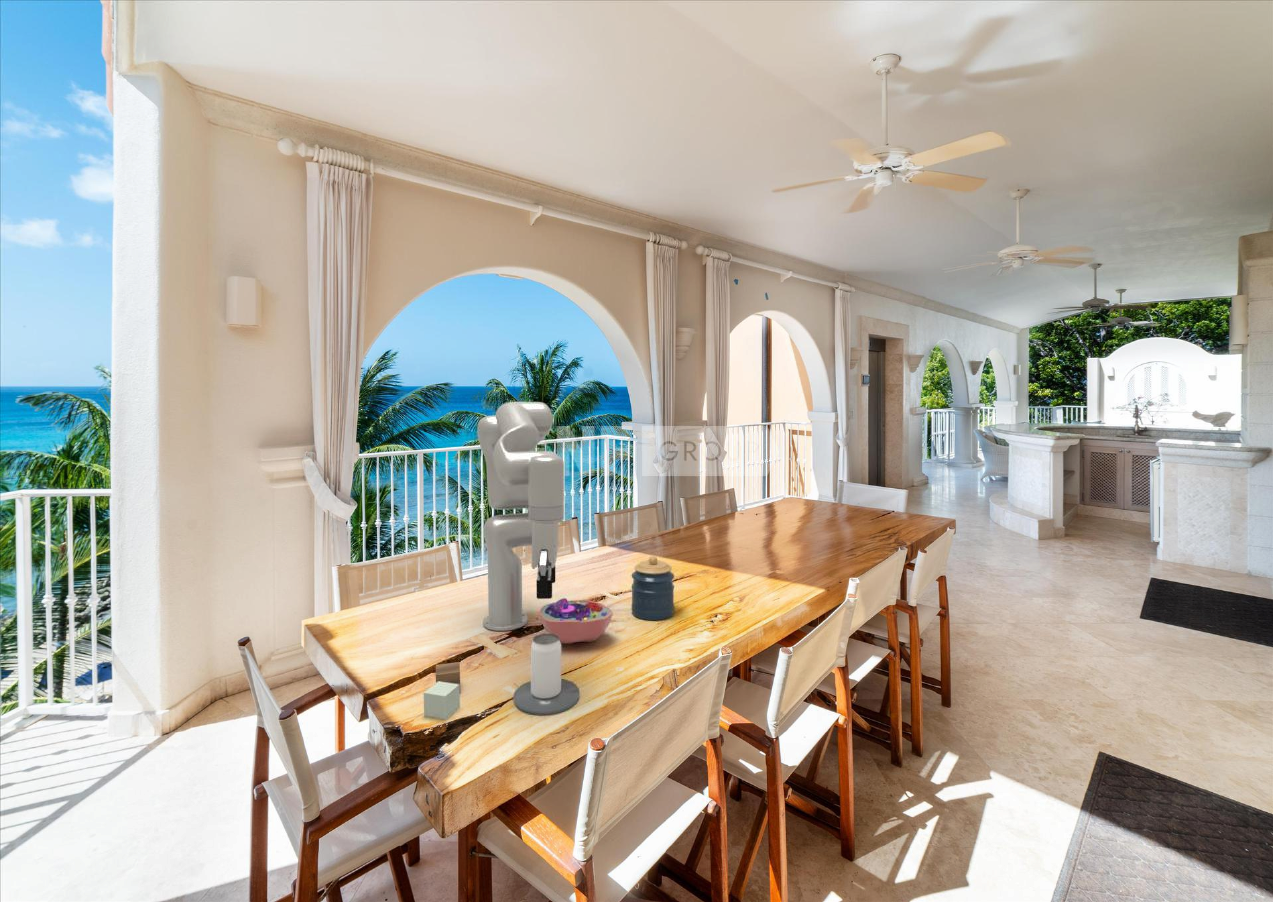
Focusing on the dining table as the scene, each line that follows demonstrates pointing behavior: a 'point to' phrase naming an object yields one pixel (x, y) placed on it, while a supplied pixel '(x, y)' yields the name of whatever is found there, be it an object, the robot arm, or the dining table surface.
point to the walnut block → (448, 673)
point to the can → (545, 666)
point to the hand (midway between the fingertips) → (546, 590)
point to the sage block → (441, 700)
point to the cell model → (575, 620)
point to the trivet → (546, 706)
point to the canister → (652, 590)
